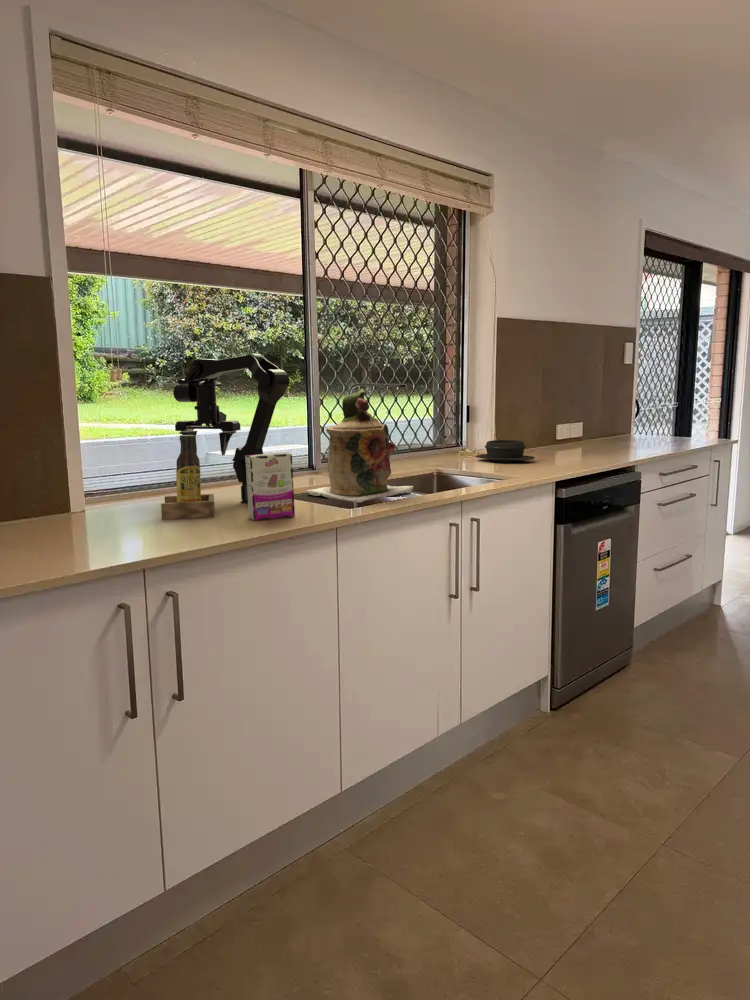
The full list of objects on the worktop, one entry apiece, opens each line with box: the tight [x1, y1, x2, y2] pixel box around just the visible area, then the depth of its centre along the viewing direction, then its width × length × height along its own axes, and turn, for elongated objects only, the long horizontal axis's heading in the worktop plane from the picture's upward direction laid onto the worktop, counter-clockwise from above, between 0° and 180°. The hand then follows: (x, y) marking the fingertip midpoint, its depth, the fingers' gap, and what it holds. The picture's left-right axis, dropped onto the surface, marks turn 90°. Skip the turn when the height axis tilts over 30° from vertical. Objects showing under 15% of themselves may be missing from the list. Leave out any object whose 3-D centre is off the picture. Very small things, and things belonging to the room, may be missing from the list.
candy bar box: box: [245, 451, 296, 522], centre depth 179 cm, size 11×5×16 cm, turn 118°
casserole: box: [475, 439, 536, 464], centre depth 293 cm, size 25×19×8 cm
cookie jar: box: [306, 388, 414, 504], centre depth 213 cm, size 25×25×32 cm
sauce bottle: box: [175, 434, 202, 503], centre depth 186 cm, size 6×6×20 cm
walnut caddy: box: [160, 493, 215, 520], centre depth 187 cm, size 13×13×4 cm
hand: (209, 455), depth 210 cm, fingers open, 9 cm apart
